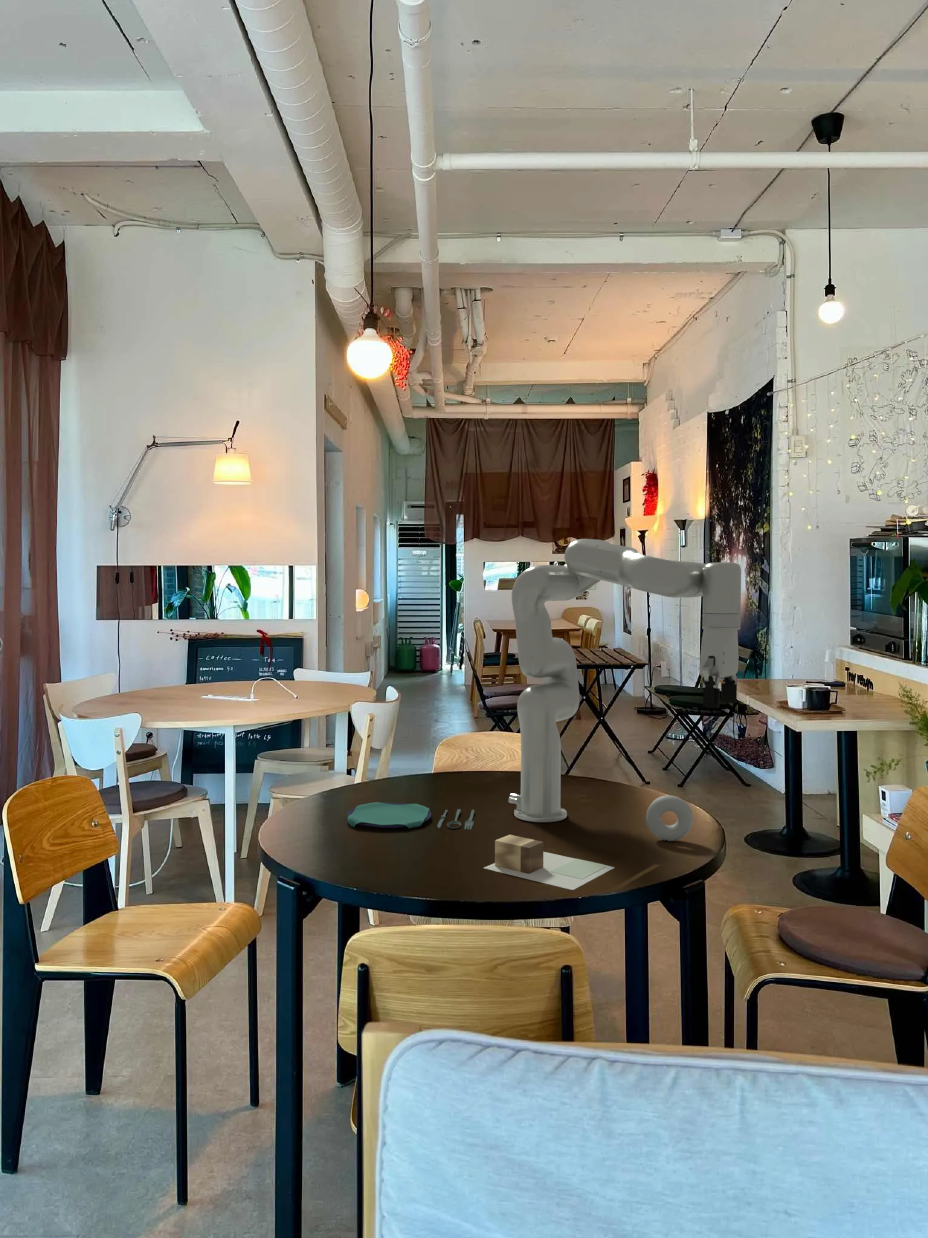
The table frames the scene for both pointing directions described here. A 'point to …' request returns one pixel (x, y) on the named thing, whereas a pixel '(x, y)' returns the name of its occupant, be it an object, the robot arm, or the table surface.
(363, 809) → the cutlery set
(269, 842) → the table surface
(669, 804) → the donut
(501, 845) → the oak block
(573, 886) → the grey mat
